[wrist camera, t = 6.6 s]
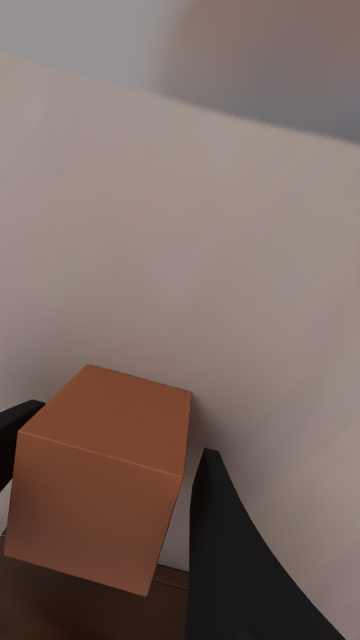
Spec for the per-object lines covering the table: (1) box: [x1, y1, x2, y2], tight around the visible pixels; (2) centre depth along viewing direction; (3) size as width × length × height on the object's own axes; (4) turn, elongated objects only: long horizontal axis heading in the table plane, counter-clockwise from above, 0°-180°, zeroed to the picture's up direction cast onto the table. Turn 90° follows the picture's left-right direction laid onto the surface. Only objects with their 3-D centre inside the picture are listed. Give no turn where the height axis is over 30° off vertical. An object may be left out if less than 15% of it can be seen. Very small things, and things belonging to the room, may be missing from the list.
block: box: [4, 364, 192, 597], centre depth 11 cm, size 5×5×5 cm
